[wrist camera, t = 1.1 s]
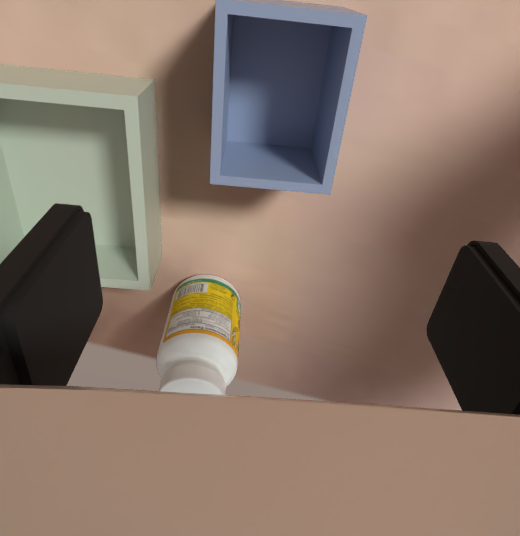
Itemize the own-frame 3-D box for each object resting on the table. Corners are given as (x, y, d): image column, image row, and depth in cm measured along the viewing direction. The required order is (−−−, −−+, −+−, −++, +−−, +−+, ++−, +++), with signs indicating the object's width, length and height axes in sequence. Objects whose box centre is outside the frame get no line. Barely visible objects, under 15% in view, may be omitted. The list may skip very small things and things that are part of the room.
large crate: (155, 78, 24) (137, 96, 21) (163, 253, 31) (150, 290, 27) (-27, 59, 24) (-80, 75, 20) (20, 242, 31) (-13, 278, 27)
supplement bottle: (190, 261, 31) (167, 357, 23) (253, 289, 33) (252, 389, 25) (162, 309, 34) (133, 411, 26) (222, 334, 35) (211, 437, 27)
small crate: (343, 6, 22) (367, 15, 17) (317, 154, 27) (330, 194, 22) (225, -7, 22) (215, -2, 17) (219, 145, 26) (209, 183, 22)
